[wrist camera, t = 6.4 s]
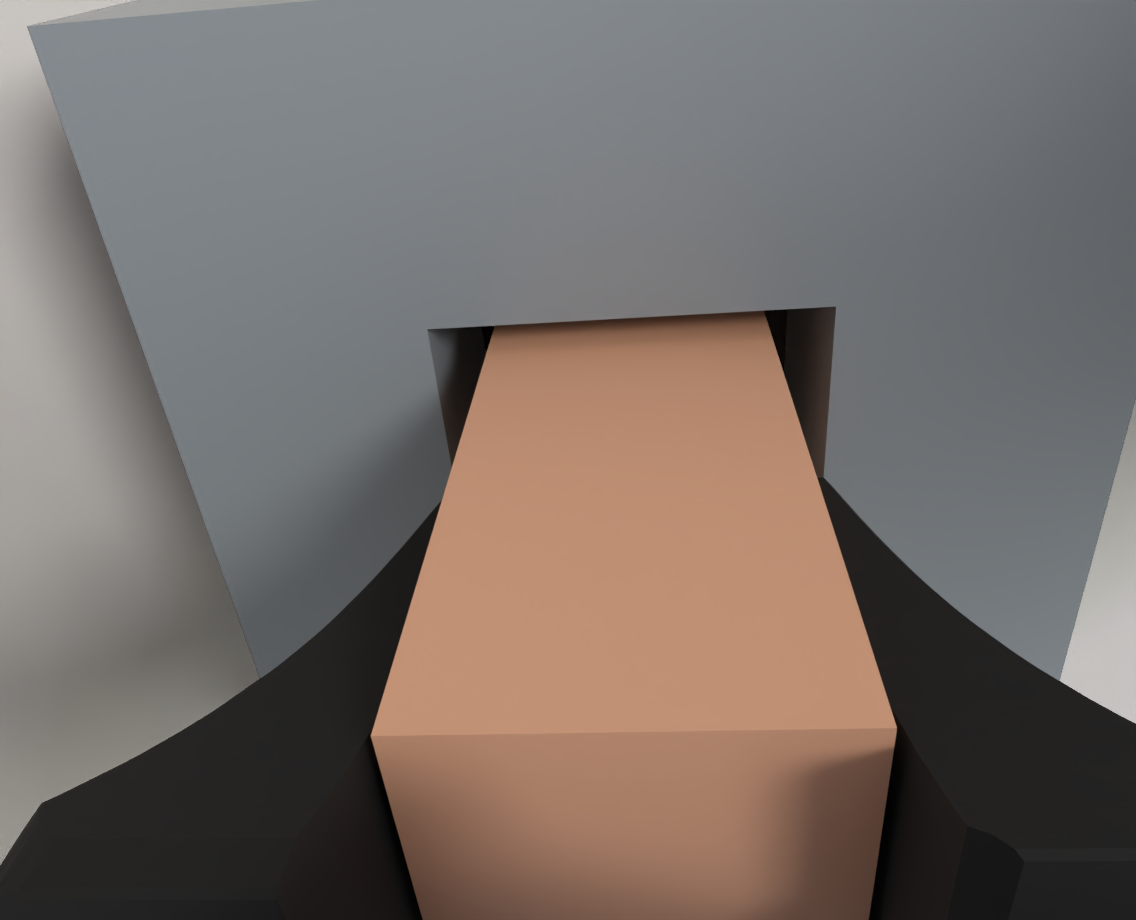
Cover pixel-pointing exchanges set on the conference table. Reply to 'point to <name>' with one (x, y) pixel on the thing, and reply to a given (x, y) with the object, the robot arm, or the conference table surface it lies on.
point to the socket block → (623, 253)
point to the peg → (635, 645)
